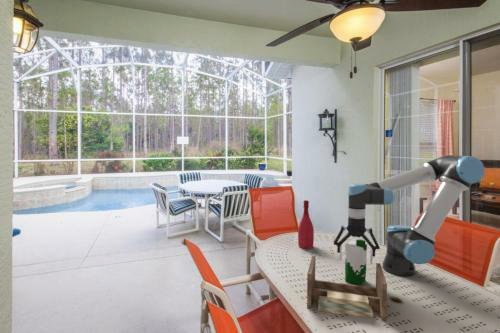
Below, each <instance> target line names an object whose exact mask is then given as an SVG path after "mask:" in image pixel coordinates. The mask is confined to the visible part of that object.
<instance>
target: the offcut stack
mask: <svg viewBox="0 0 500 333" xmlns="http://www.w3.org/2000/svg"><path fill="white" fill-rule="evenodd" d="M331 291H332V290H331ZM331 291H327V297H325V296H319V300H318V301H317V311H318V312H326V313H333V314H339V315H340V314H341V315H346V316H348V315H349V316H354V317H355V316H356V317H357V316H358V317H363V318H371V319H373V318H374V312H373V311H374V310H372V308H371V306H369V301H368V297H367V296H368V295H365V296H360V295H361V294H358V295H353V294H354V293H351V294H346V293H347V292H345V293H338V292H339V291H338V292H331Z"/></svg>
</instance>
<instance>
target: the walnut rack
mask: <svg viewBox="0 0 500 333" xmlns="http://www.w3.org/2000/svg"><path fill="white" fill-rule="evenodd" d="M375 265H376V266H375V287H370V286H365V285H361V286H359V285H355V284H352V283H350V284H349V283H343V282H342V283H341V282H336V281H335V282H334V281H329V280H321V279H320V280H319V279H316V255H312V256H311V258H310V263H309V267H308V270H307V278H306V279H307V280H306V281H307V283H306V286H307V287H306V289H307V290H306V307H307V309H312V304H313V301H314V302H318V300H319V296H325V297H327V291H331V292H338V293H346V294H353V295H360V296H367V297H368V301H369V306H371V308H372V311H375V312H379V316H380V320H381V321H382V322H387V300H388V298H387V295H388V283H387V280H386V277H385V274H384V271H383V267H382V265H381V263H380V262H379V263H377V262H376V263H375Z"/></svg>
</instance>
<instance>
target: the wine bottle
mask: <svg viewBox="0 0 500 333" xmlns="http://www.w3.org/2000/svg"><path fill="white" fill-rule="evenodd" d="M309 205H310V201H309V200H308V199H305V200H303V214H302V217H301V219H300V221H299V224H298V226H297V227H298V229H297V243H298V244H297V245H298V247H300V248H301V249H306V250H310V249H313V247H314V240H315V238H314V237H315V230H314V224H313V222H312V220H311V217H310V214H309V207H310V206H309Z"/></svg>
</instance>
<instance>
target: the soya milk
mask: <svg viewBox="0 0 500 333" xmlns="http://www.w3.org/2000/svg"><path fill="white" fill-rule="evenodd" d="M344 247H345V251H344V252H345V254H344V255H345V258H344V259H345V260H344V261H345V262H344V264H345V265H344V277H345V278H344V279H345V280H344V281H345V282H346V283H348V284H349V283H350V284H351V285H358V286H363V285H364V283H365V282H366V279H367V278H366V277H367V276H366V275H367V250H368V243H366V241H365V240H364V239H356V240H355V241H354V240H350V241H349V242H347V243H345V245H344Z"/></svg>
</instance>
